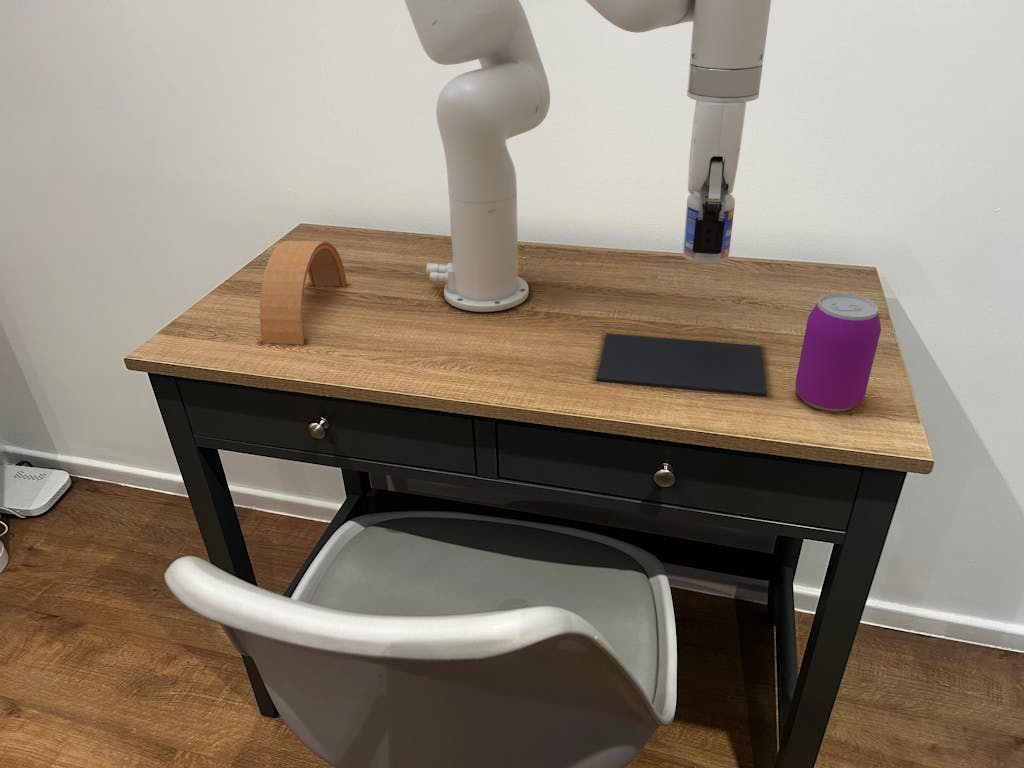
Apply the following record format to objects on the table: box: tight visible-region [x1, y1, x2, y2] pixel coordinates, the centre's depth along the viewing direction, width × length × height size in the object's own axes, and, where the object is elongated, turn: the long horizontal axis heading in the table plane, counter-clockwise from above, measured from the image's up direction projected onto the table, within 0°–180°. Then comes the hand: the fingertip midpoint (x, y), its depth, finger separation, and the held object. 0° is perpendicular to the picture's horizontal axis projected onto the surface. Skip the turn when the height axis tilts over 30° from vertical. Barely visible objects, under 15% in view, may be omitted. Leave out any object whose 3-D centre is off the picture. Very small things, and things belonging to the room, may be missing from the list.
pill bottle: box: [682, 186, 736, 265], centre depth 93 cm, size 5×5×10 cm
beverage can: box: [794, 292, 882, 413], centre depth 91 cm, size 8×8×12 cm
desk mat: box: [596, 333, 767, 397], centre depth 101 cm, size 20×12×1 cm, turn 78°
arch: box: [259, 240, 348, 346], centre depth 114 cm, size 6×20×10 cm, turn 173°
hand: (706, 241), depth 95 cm, fingers closed on pill bottle, 5 cm apart
